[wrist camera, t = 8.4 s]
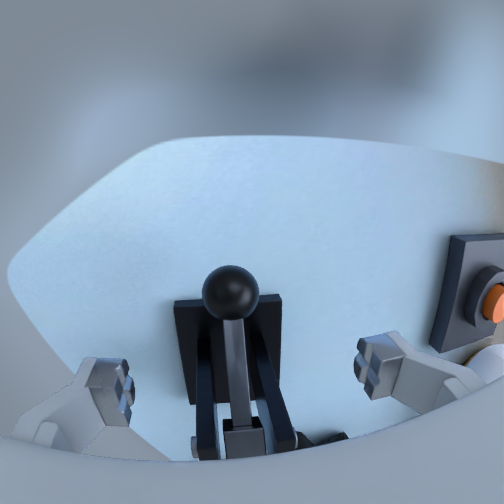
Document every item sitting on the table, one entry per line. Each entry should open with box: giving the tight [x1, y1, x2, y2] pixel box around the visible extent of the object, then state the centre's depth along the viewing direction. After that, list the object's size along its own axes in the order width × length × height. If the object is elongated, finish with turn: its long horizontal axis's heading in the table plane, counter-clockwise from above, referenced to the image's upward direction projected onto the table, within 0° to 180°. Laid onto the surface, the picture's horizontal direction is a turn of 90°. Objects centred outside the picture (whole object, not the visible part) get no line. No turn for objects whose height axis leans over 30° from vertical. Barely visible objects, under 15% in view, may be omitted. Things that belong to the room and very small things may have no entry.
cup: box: [464, 344, 504, 384], centre depth 27 cm, size 12×12×10 cm
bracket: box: [174, 294, 298, 461], centre depth 19 cm, size 10×8×12 cm
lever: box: [202, 265, 266, 459], centre depth 16 cm, size 12×3×3 cm
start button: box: [482, 284, 504, 323], centre depth 23 cm, size 4×4×2 cm
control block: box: [429, 233, 504, 354], centre depth 25 cm, size 12×10×4 cm
